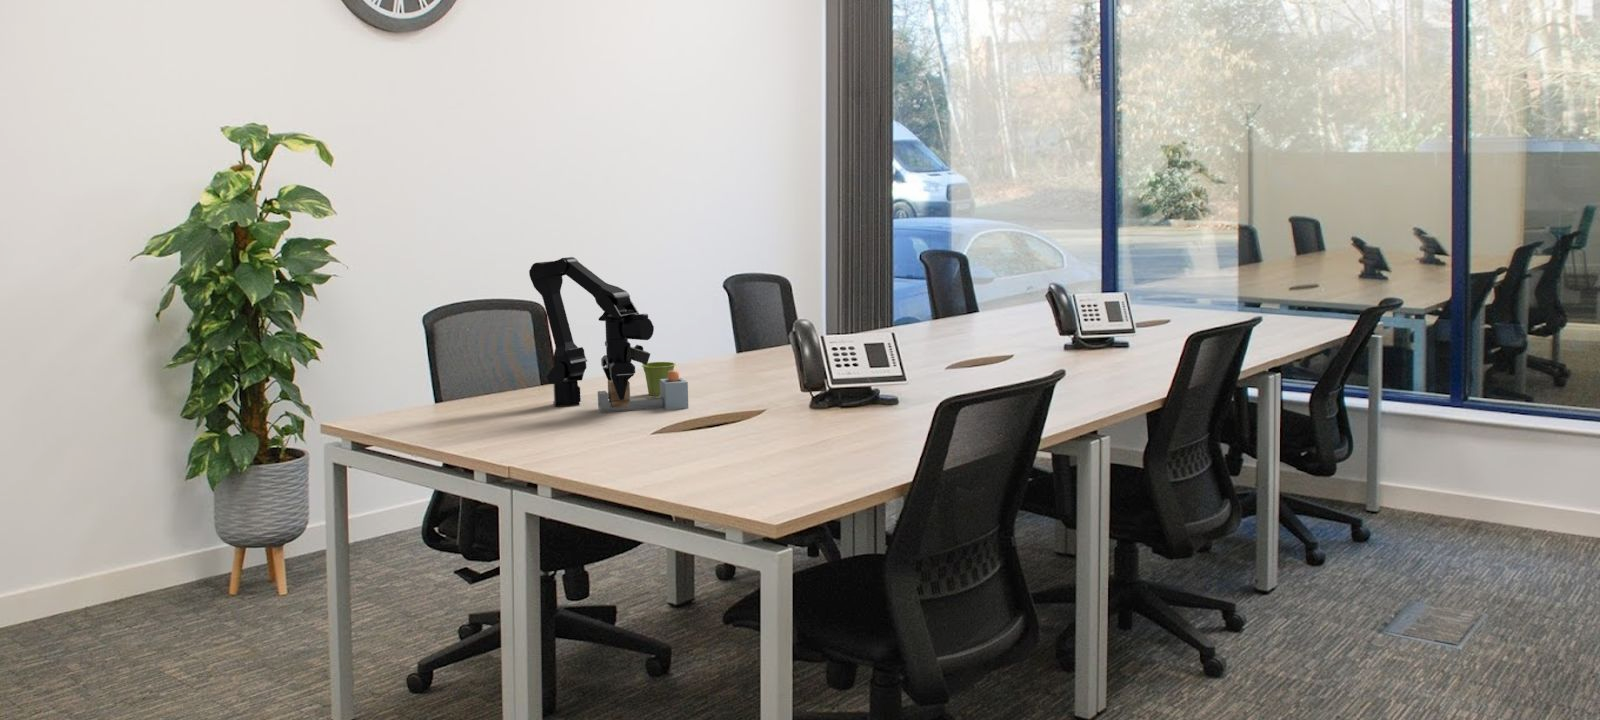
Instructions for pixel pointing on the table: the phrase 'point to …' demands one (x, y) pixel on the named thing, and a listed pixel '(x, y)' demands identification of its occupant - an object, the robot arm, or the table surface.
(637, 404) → the rail
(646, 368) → the plant pot
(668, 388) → the blue grey open box
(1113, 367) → the table surface
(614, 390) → the block
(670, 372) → the brown egg
